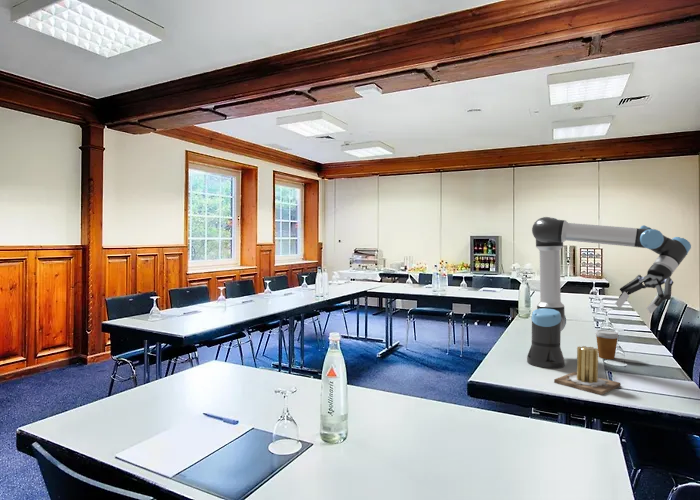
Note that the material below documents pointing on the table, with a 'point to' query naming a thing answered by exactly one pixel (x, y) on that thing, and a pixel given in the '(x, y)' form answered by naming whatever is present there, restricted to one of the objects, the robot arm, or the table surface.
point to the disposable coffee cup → (606, 343)
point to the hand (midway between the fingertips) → (632, 308)
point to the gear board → (587, 384)
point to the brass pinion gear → (587, 364)
